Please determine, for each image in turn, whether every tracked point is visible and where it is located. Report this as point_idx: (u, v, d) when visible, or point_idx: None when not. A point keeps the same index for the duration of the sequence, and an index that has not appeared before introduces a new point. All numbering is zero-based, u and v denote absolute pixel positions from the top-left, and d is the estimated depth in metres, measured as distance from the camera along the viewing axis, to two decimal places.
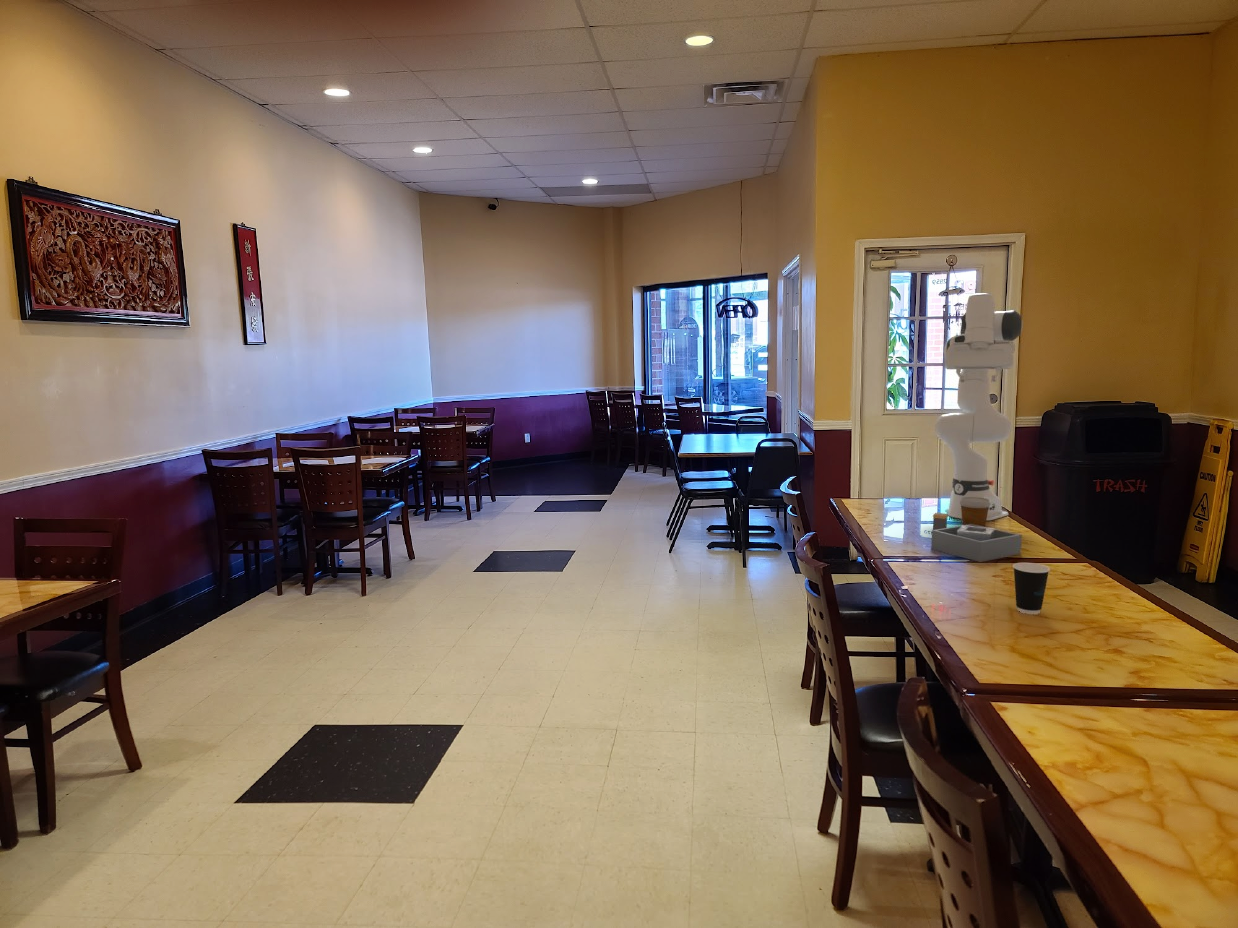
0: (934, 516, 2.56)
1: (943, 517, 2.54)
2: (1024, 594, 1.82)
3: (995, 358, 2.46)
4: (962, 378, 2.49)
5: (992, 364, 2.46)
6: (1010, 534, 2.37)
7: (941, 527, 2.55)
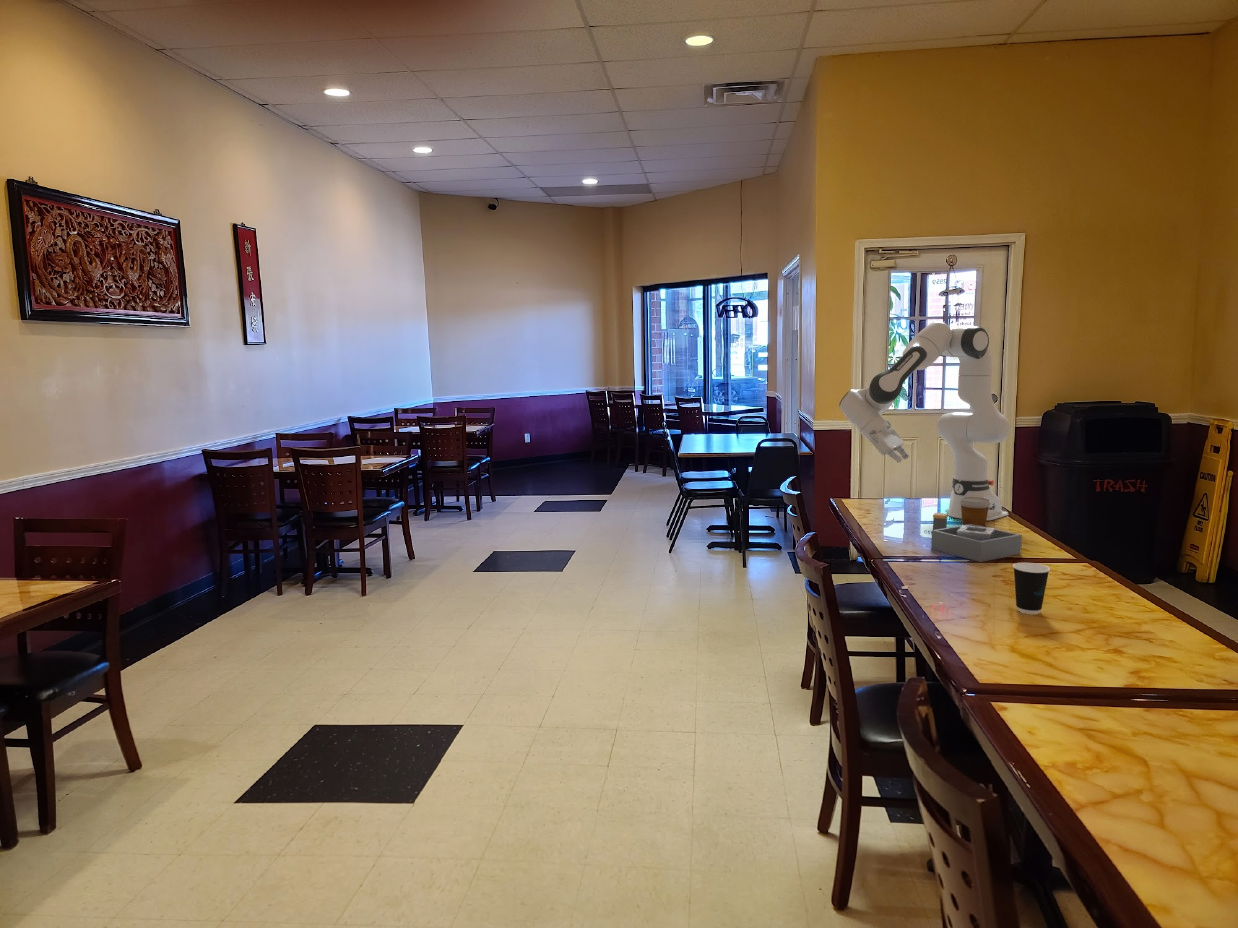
0: (934, 516, 2.56)
1: (943, 517, 2.54)
2: (1024, 594, 1.82)
3: None
4: None
5: None
6: (1010, 534, 2.37)
7: (941, 527, 2.55)
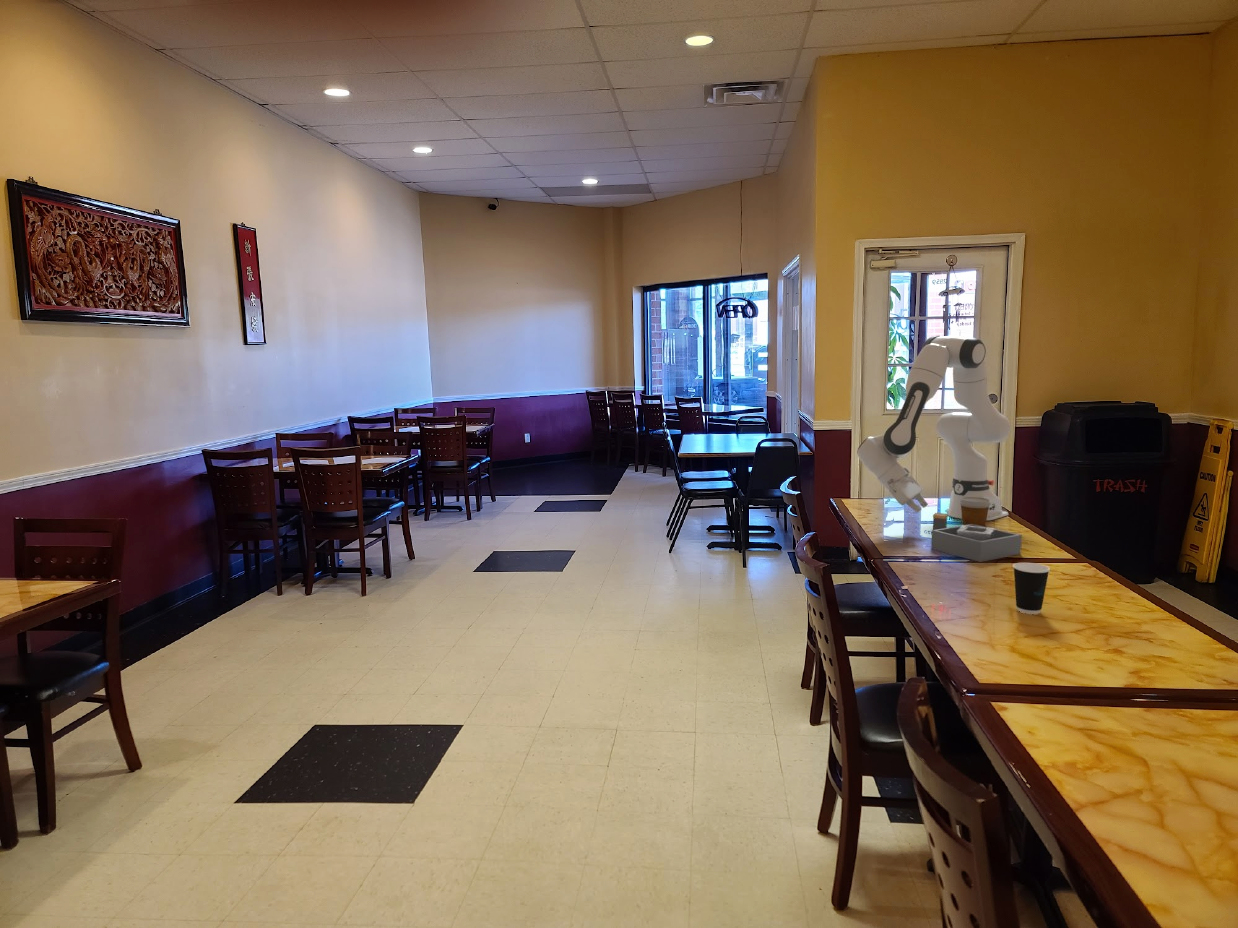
0: (934, 516, 2.56)
1: (943, 517, 2.54)
2: (1024, 594, 1.82)
3: None
4: None
5: None
6: (1010, 534, 2.37)
7: (941, 527, 2.55)
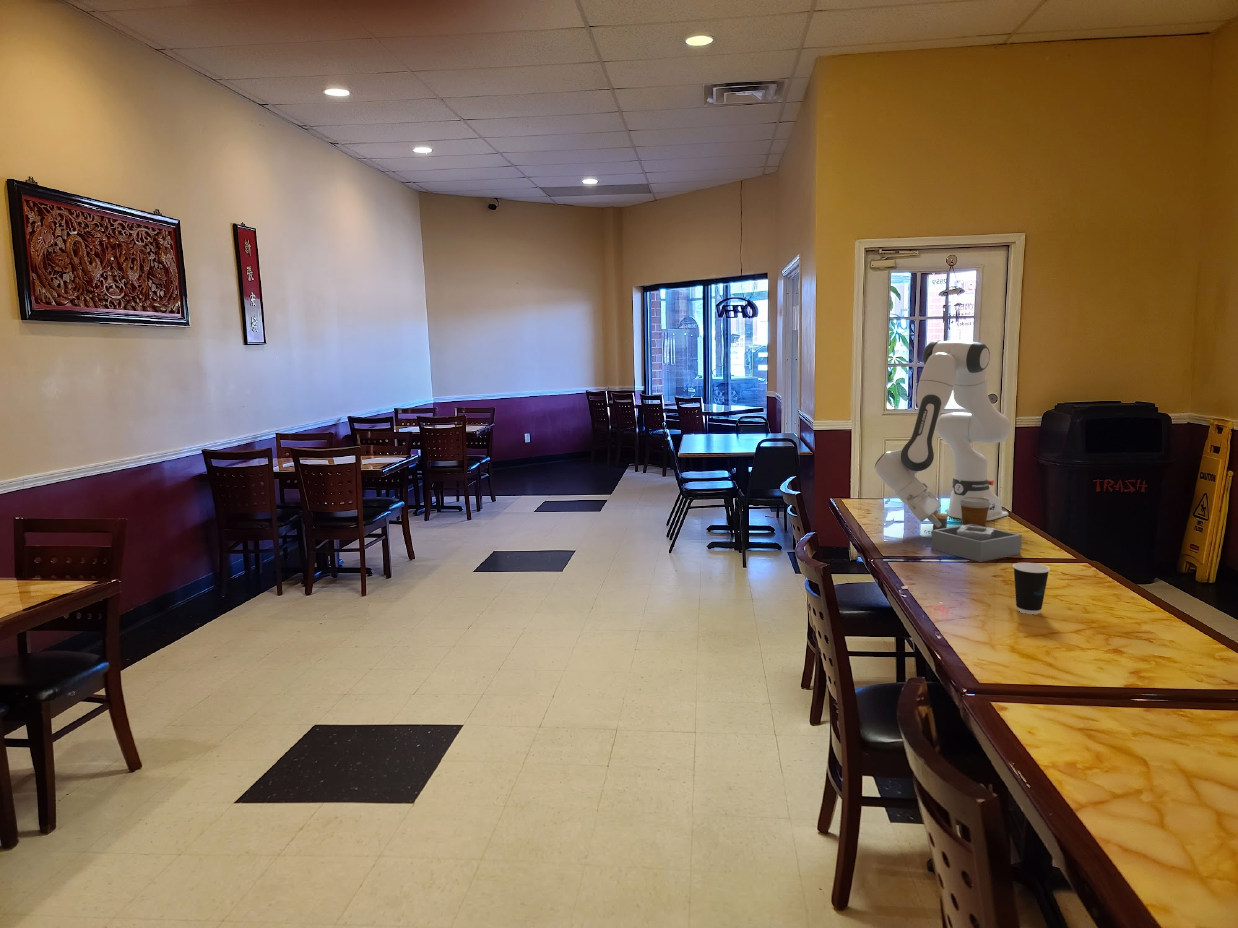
0: None
1: (943, 517, 2.54)
2: (1024, 594, 1.82)
3: None
4: None
5: None
6: (1010, 534, 2.37)
7: (941, 527, 2.55)
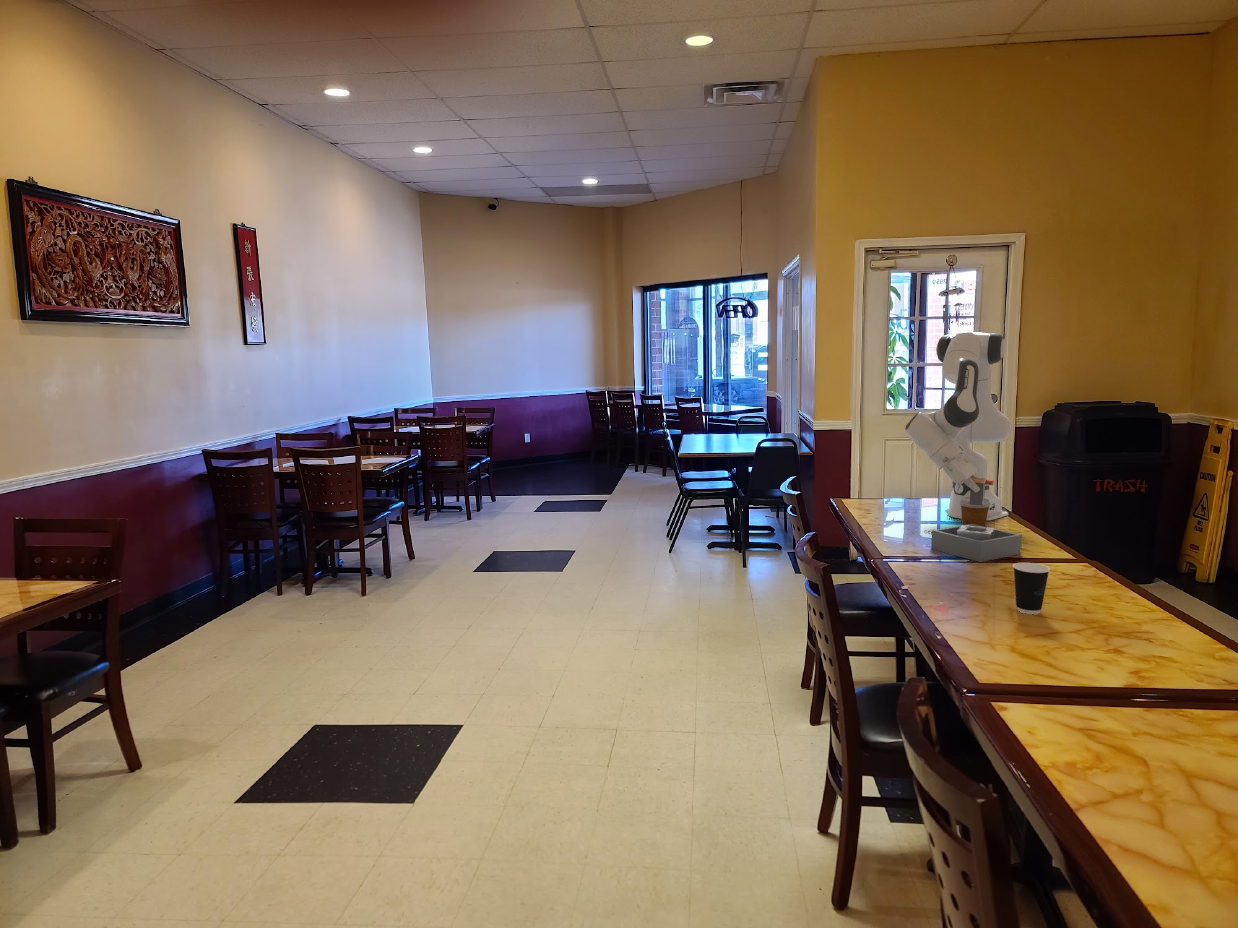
0: None
1: (981, 481, 2.34)
2: (1024, 594, 1.82)
3: None
4: None
5: None
6: (1010, 534, 2.37)
7: (979, 492, 2.35)
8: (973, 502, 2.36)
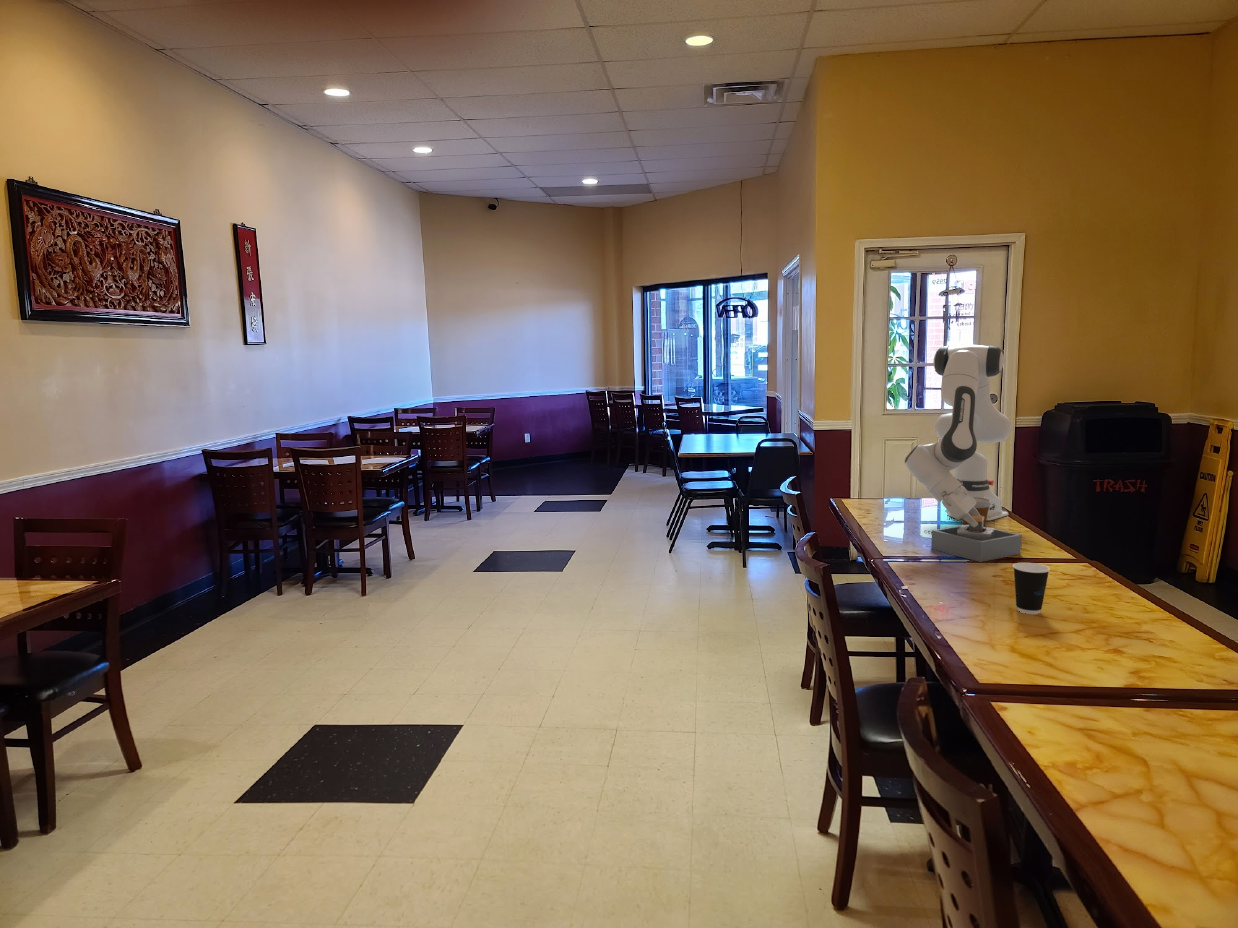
0: None
1: (980, 520, 2.36)
2: (1024, 594, 1.82)
3: None
4: None
5: None
6: (1010, 534, 2.37)
7: (978, 530, 2.37)
8: None
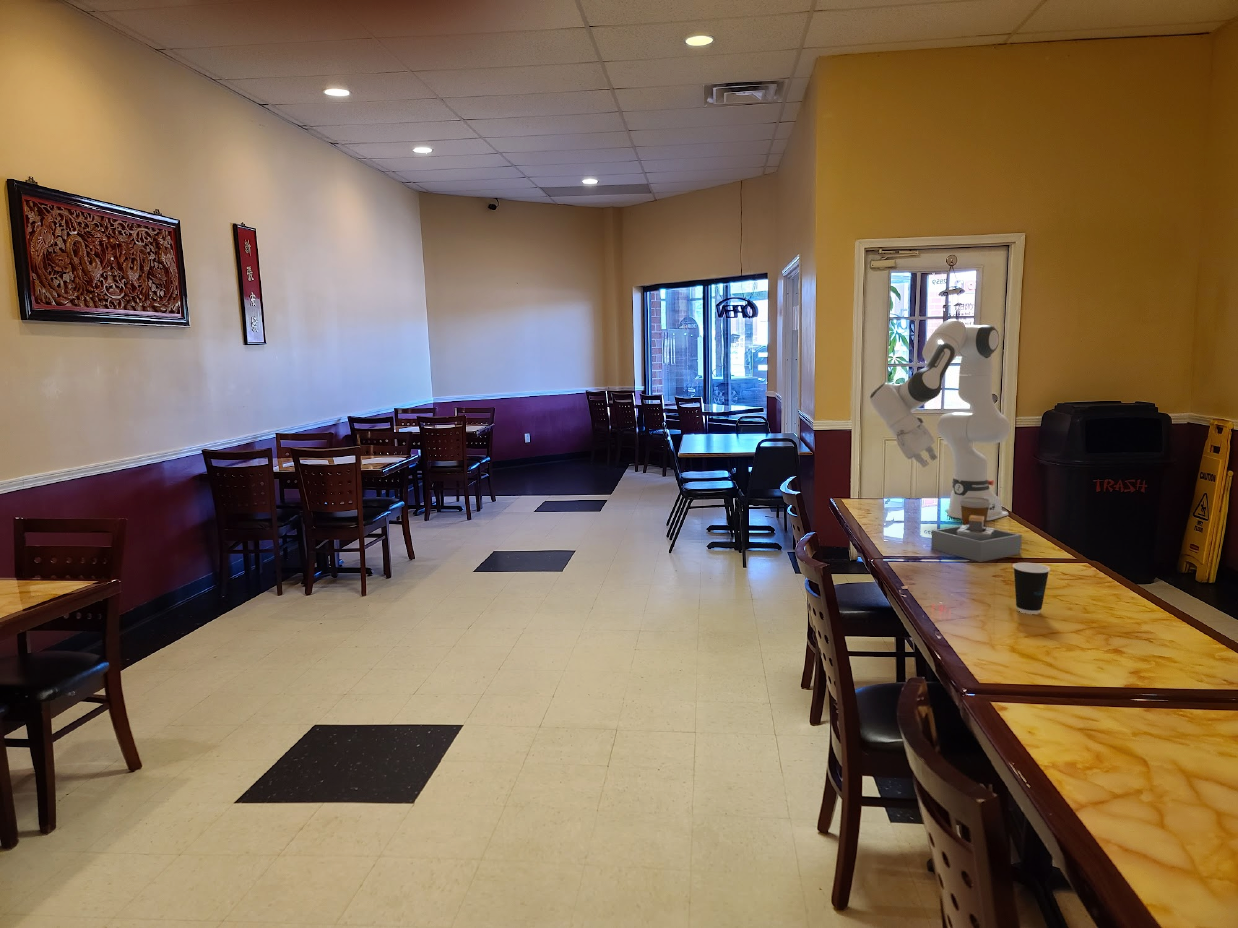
0: (970, 519, 2.37)
1: (980, 520, 2.36)
2: (1024, 594, 1.82)
3: None
4: None
5: None
6: (1010, 534, 2.37)
7: (978, 530, 2.37)
8: None
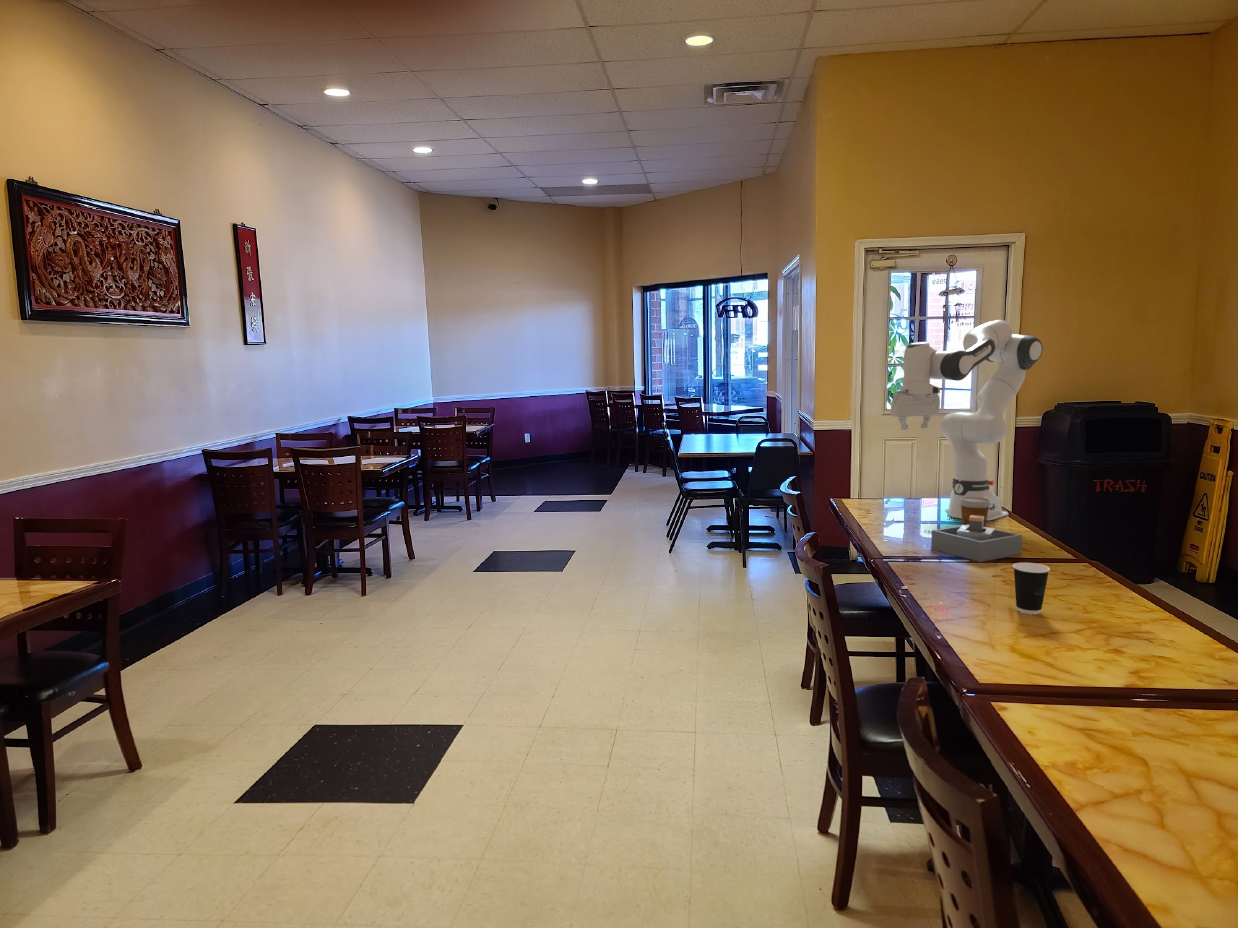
0: (970, 519, 2.37)
1: (980, 520, 2.36)
2: (1024, 594, 1.82)
3: None
4: None
5: None
6: (1010, 534, 2.37)
7: (978, 530, 2.37)
8: None
